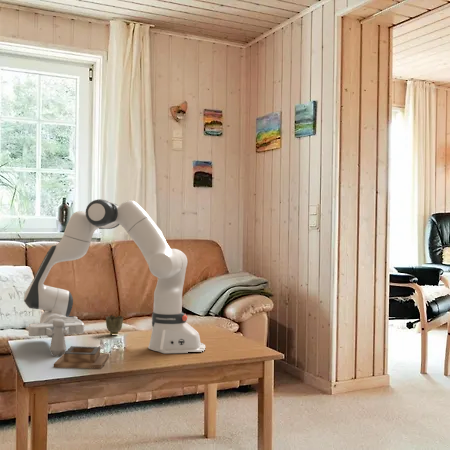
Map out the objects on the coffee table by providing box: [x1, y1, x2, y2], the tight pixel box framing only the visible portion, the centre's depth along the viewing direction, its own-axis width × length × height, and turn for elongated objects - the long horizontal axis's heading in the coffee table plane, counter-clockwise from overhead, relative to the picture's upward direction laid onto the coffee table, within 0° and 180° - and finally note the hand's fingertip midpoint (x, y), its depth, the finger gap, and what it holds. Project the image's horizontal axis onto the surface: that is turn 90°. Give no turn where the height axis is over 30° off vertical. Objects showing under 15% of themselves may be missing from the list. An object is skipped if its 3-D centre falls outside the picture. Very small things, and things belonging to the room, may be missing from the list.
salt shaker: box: [49, 319, 67, 357], centre depth 214 cm, size 6×6×13 cm
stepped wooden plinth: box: [53, 345, 110, 370], centre depth 205 cm, size 16×16×4 cm
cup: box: [105, 315, 124, 336], centre depth 252 cm, size 8×7×8 cm
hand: (58, 332), depth 213 cm, fingers open, 3 cm apart
